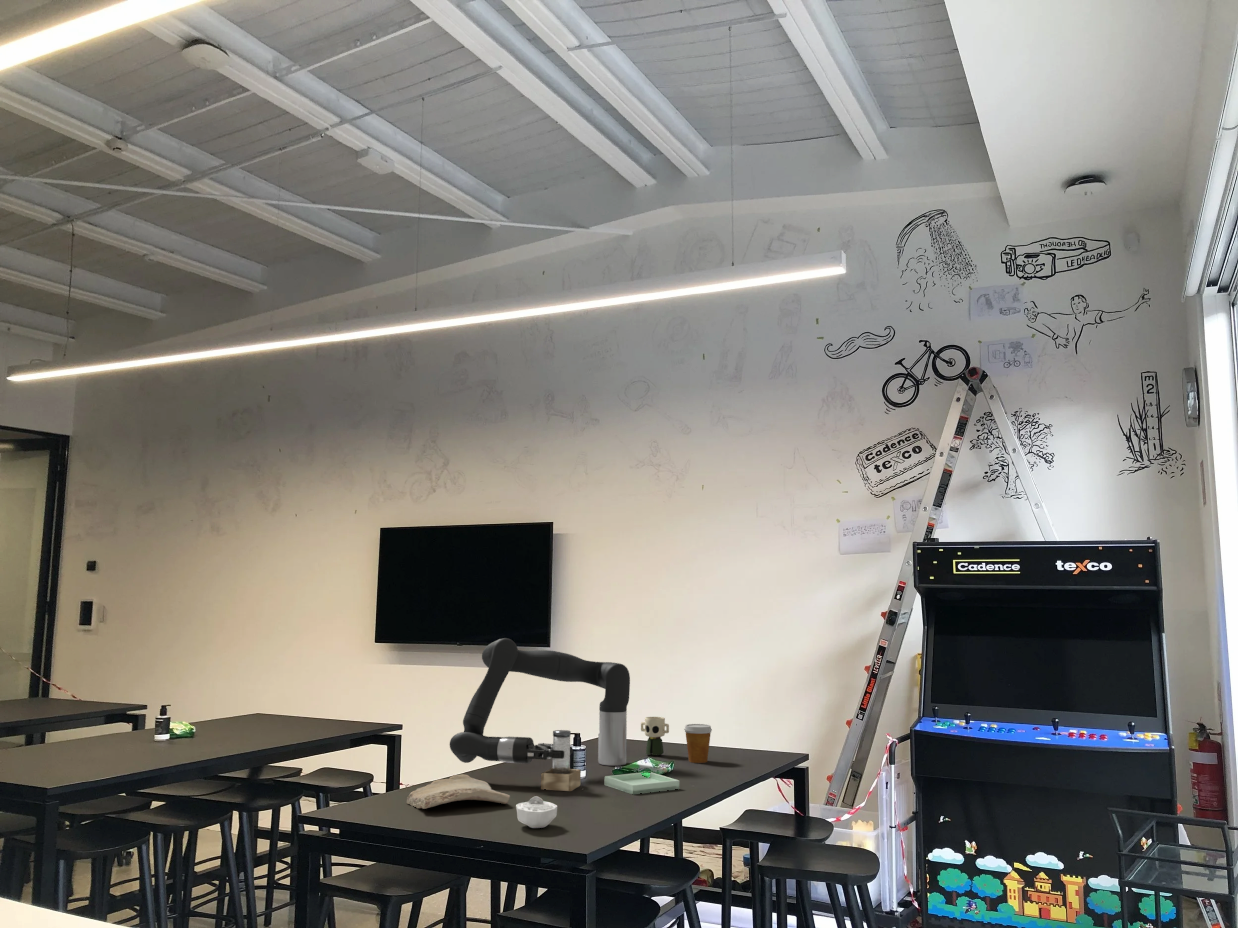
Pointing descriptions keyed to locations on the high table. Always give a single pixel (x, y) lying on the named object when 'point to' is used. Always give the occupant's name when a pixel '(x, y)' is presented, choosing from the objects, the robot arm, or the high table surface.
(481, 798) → the beige pottery shard
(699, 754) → the disposable coffee cup
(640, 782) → the tray
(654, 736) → the character mug
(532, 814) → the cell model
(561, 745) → the canister
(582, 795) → the high table surface
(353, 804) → the high table surface
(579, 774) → the holder
